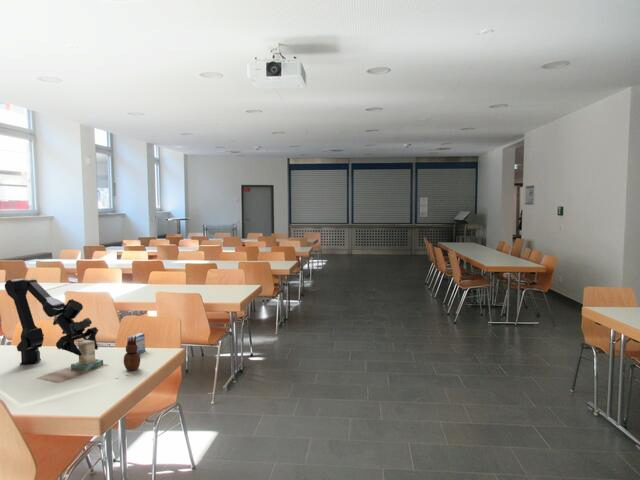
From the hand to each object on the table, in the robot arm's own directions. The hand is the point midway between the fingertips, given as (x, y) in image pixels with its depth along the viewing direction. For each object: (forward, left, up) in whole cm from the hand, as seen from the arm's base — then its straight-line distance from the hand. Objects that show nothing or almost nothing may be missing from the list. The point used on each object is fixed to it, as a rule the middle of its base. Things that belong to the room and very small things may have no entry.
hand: (89, 352), depth 204 cm
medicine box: (+14, +23, -8) cm, 28 cm away
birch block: (-1, 0, -7) cm, 7 cm away
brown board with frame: (-5, -5, -8) cm, 10 cm away
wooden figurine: (+19, -3, -8) cm, 21 cm away
